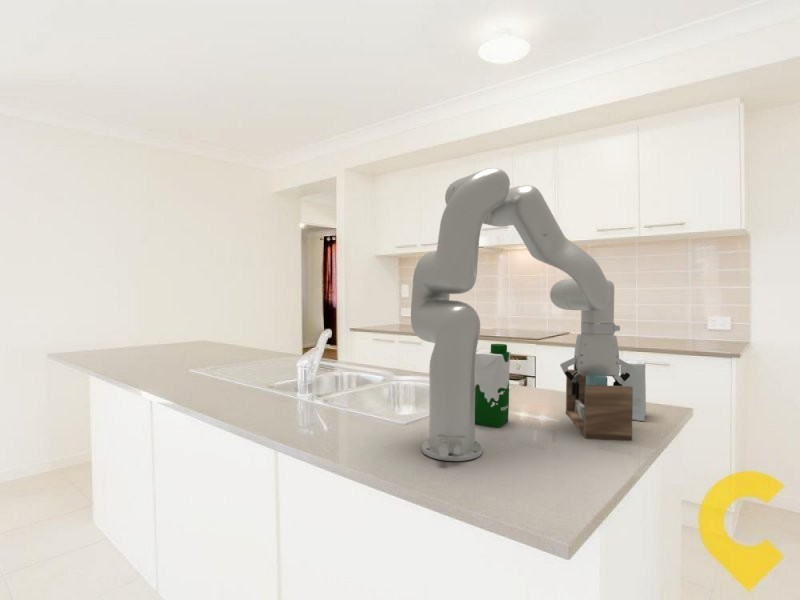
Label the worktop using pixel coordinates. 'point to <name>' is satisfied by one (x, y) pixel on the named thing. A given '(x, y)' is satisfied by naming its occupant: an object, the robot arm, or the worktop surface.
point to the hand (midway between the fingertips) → (596, 398)
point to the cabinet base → (601, 410)
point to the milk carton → (492, 386)
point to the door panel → (596, 380)
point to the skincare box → (637, 388)
